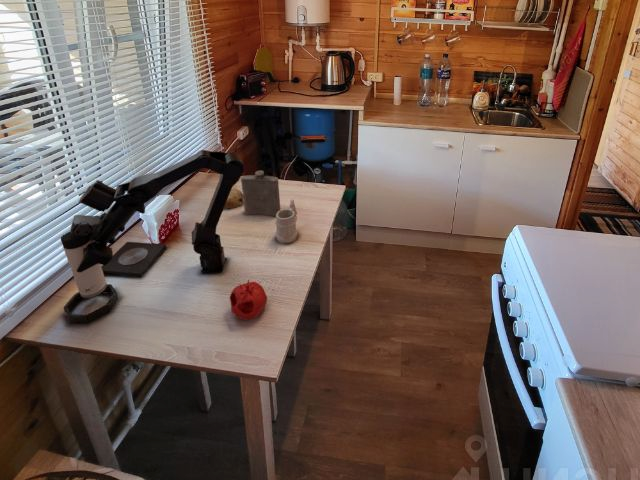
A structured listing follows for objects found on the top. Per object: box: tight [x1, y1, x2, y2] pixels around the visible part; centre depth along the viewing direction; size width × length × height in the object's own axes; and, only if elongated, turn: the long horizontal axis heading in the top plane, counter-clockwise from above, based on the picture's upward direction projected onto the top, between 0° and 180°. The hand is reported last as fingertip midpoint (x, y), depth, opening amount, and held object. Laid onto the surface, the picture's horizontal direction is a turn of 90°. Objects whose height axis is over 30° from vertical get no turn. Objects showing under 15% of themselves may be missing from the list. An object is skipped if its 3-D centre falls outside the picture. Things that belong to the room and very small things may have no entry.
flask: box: [240, 170, 281, 217], centre depth 147 cm, size 4×14×18 cm, turn 86°
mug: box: [274, 199, 299, 244], centre depth 136 cm, size 8×12×12 cm, turn 165°
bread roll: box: [224, 187, 244, 209], centre depth 156 cm, size 10×10×8 cm
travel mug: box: [60, 231, 108, 299], centre depth 104 cm, size 6×7×20 cm
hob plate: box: [101, 241, 167, 278], centre depth 124 cm, size 14×14×2 cm
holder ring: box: [63, 283, 120, 325], centre depth 106 cm, size 12×12×2 cm
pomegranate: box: [229, 279, 268, 320], centre depth 104 cm, size 10×10×9 cm
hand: (79, 264), depth 103 cm, fingers closed on travel mug, 6 cm apart
